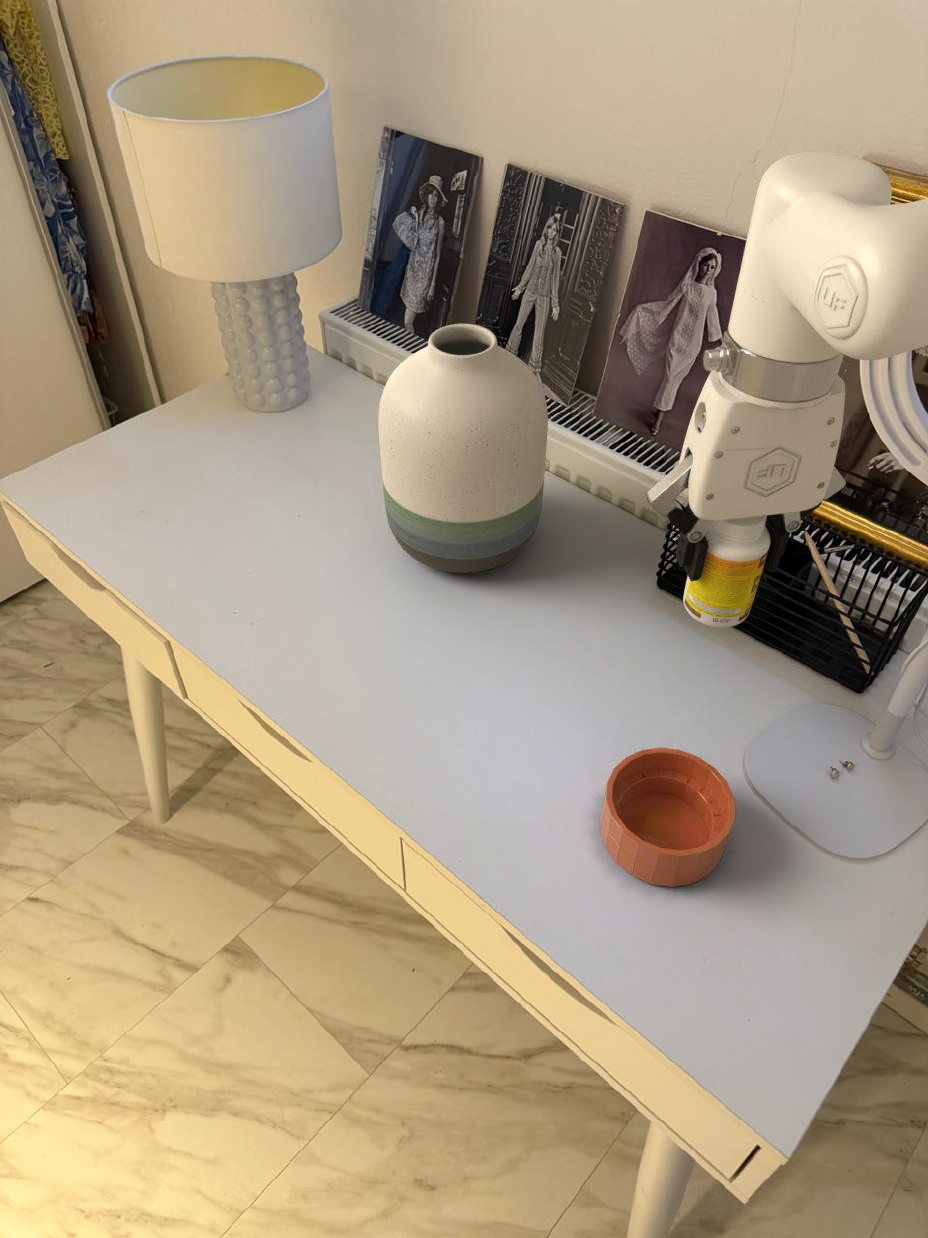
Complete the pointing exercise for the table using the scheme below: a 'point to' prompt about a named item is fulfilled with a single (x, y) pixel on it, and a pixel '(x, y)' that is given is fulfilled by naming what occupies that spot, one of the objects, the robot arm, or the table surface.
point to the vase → (463, 451)
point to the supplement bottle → (729, 572)
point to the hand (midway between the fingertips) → (727, 563)
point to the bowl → (666, 816)
